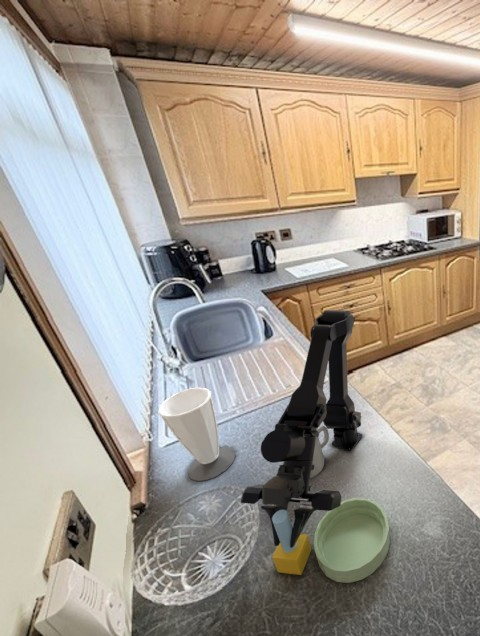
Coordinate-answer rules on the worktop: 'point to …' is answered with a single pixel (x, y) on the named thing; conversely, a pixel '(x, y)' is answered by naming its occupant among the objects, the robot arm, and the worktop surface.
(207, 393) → the cup
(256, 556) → the worktop surface
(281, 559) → the sponge wand
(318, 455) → the mug
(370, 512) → the bowl
